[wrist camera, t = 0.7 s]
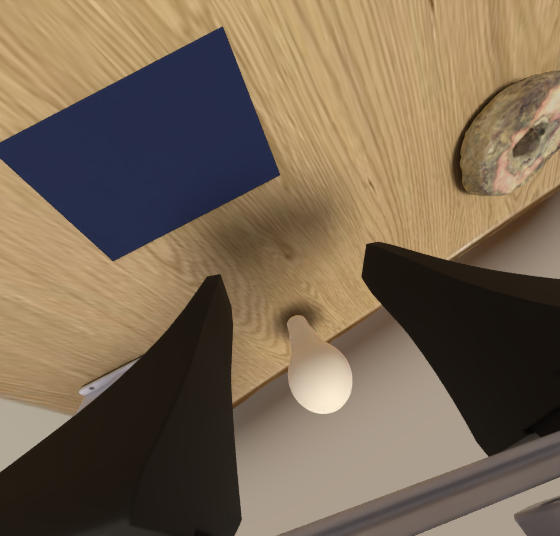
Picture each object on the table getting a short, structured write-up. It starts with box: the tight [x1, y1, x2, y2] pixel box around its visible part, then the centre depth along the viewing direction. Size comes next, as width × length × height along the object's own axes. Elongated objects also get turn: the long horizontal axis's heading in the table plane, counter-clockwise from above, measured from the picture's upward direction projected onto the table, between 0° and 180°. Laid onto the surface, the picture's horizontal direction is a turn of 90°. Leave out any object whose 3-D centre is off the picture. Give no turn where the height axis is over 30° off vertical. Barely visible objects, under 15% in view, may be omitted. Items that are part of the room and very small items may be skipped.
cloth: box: [0, 27, 280, 261], centre depth 15 cm, size 16×9×1 cm, turn 113°
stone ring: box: [460, 71, 560, 196], centre depth 19 cm, size 10×4×10 cm
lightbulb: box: [287, 315, 352, 414], centre depth 22 cm, size 6×6×11 cm
